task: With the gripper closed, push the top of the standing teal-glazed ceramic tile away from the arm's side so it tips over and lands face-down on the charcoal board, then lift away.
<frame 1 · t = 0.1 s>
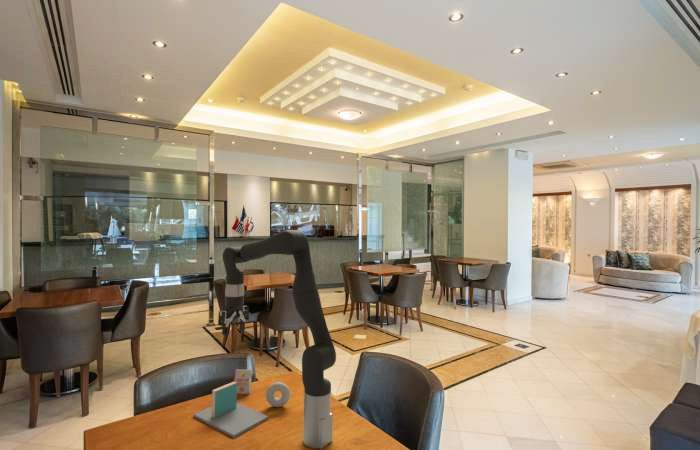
hand: (233, 333, 152), 29 cm above the table, tool pointing down, fingers open, 8 cm apart
tile: (224, 399, 143), point 6 cm above the table, touching board
donut: (277, 407, 150), on the table
board: (230, 417, 140), on the table
white printed carton: (242, 392, 162), on the table
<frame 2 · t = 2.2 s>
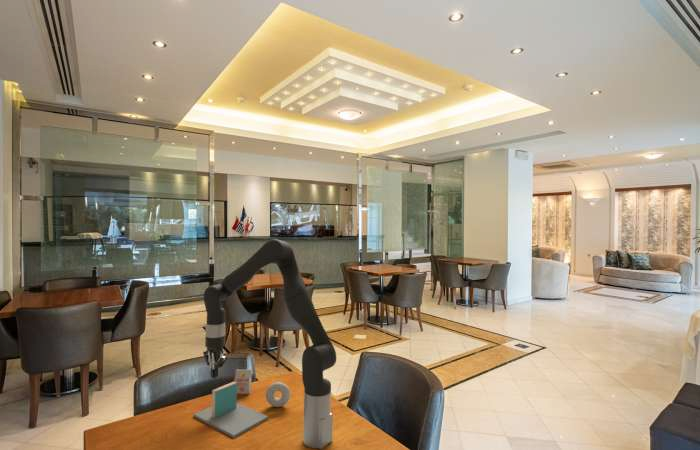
hand: (214, 377, 147), 13 cm above the table, tool pointing down, fingers closed
nothing on the table moved.
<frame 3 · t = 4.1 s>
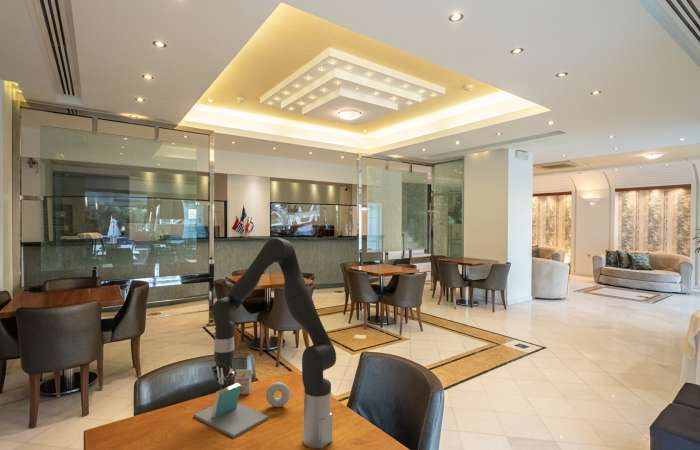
hand: (223, 392, 143), 8 cm above the table, tool pointing down, fingers closed
tile: (226, 399, 142), point 6 cm above the table, tilted 14°, touching board
everything else where it was.
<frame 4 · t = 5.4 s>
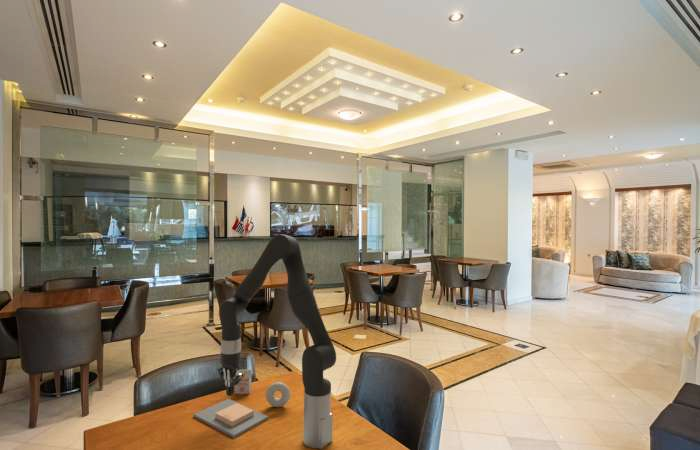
hand: (229, 394, 141), 8 cm above the table, tool pointing down, fingers closed
tile: (234, 414, 139), point 2 cm above the table, tilted 90°, touching board
everything else where it was.
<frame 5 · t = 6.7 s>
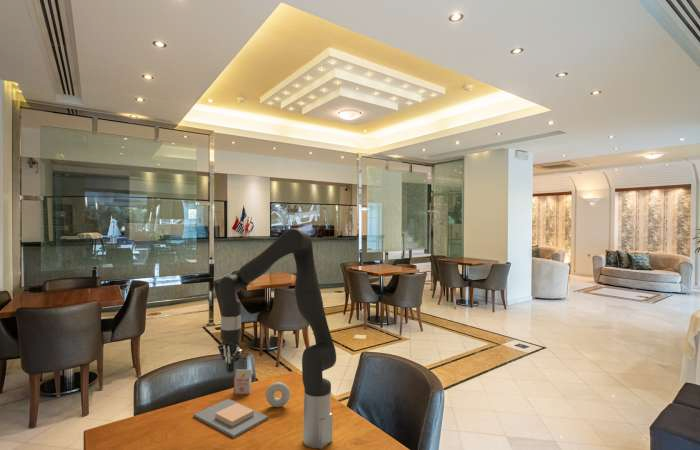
hand: (230, 371, 141), 17 cm above the table, tool pointing down, fingers closed
nothing on the table moved.
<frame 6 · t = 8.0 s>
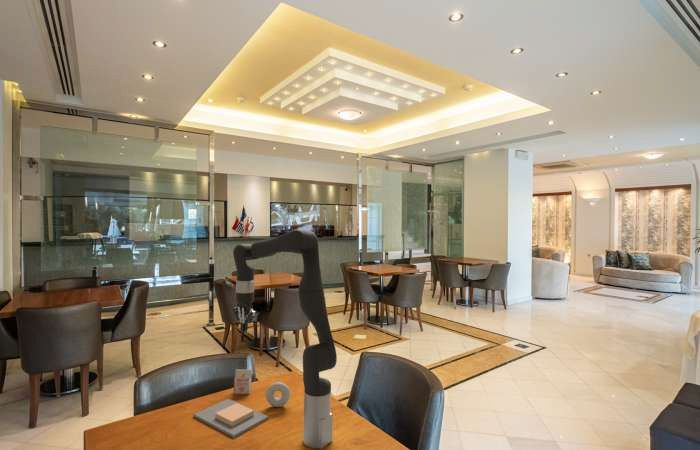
hand: (243, 331, 155), 29 cm above the table, tool pointing down, fingers closed
nothing on the table moved.
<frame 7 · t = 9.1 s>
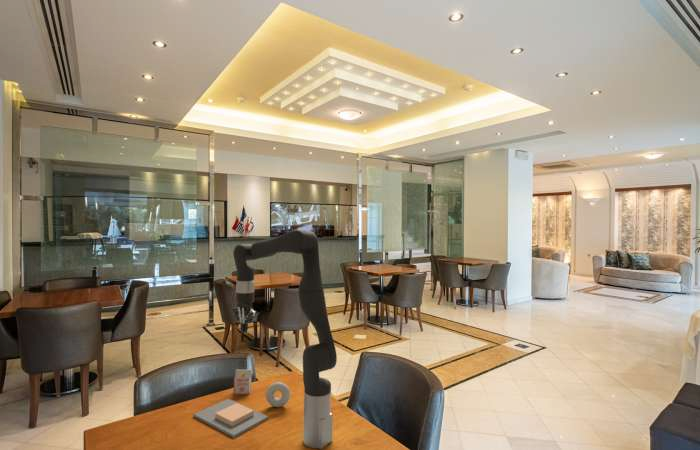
hand: (244, 331, 155), 29 cm above the table, tool pointing down, fingers closed
nothing on the table moved.
at the end: tile tilted 90°; tile inside the target area (0.5 cm from its centre), point 2.0 cm above the table; donut moved 0.2 cm from its start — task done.
